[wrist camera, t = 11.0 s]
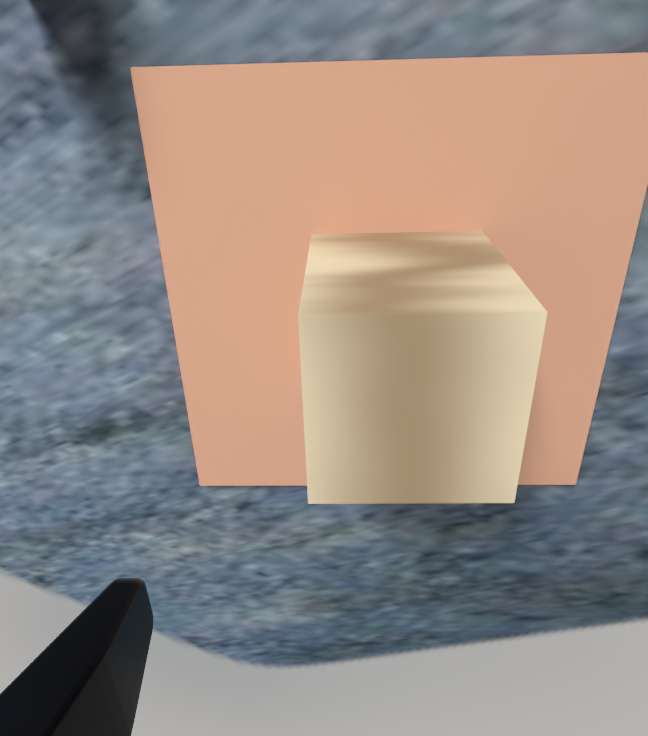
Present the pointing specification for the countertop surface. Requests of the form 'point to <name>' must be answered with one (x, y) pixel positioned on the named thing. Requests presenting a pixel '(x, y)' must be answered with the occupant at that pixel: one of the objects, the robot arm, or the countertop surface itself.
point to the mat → (386, 220)
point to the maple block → (415, 368)
